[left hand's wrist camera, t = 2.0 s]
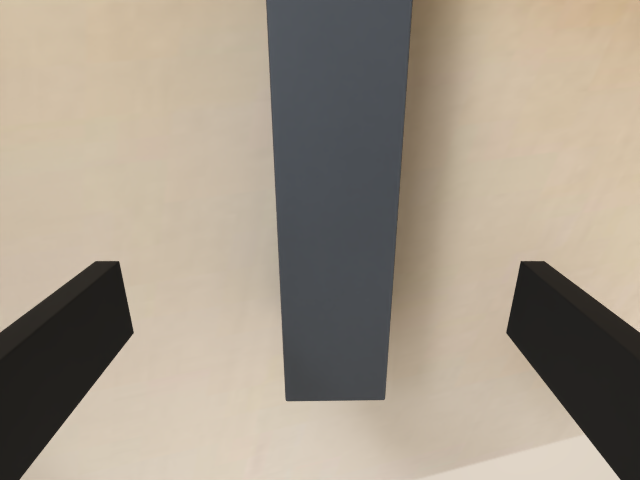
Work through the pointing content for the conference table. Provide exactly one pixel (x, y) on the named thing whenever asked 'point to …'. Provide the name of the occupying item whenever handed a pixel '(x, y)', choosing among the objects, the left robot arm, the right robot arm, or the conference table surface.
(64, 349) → the left robot arm
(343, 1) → the post
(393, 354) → the conference table surface
